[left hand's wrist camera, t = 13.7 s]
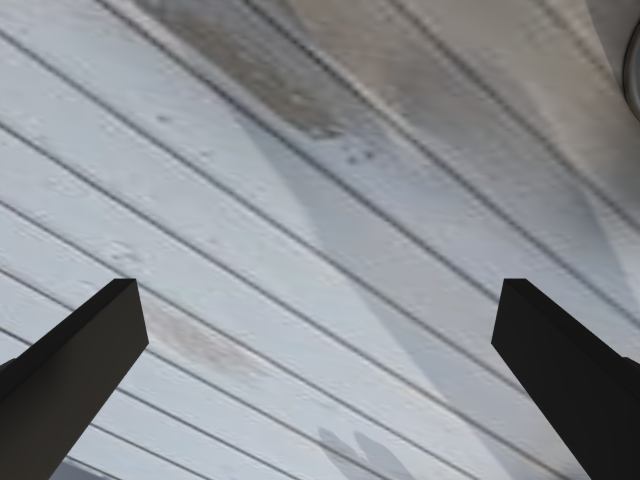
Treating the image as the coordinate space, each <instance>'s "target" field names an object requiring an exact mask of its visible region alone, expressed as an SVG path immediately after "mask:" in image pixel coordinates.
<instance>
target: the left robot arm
mask: <svg viewBox="0 0 640 480" xmlns="http://www.w3.org/2000/svg"><path fill="white" fill-rule="evenodd" d="M624 90H625V94H626V98H627V101H628V104H629V106H630V109H631V111H632V112H633V114H634V115H635V117H636V118H637V119H638V120H639V121H640V23H639V25H638V27H637V28H636V31H635V33H634V35H633V37H632V40H631V42H630V45H629V48H628V52H627V55H626V60H625V66H624ZM148 344H149V341H148V336H147V331H146V326H145V321H144V316H143V311H142V306H141V301H140V296H139V291H138V286H137V281H136V279H113V280H112V281H111V282H110V283H108V284H107V285H106V286H105V287H103V288H102V289H101V290H100V291H99V292H97V293H96V294H95V295H94V296H92V297H91V298H90V299H89V300H87V301H86V302H85V303H84V304H83V305H81V306H80V307H79V308H78V309H76V310H75V311H74V312H73V313H72V314H70V315H69V316H68V317H67V318H65V319H64V320H63V321H62V322H60V323H59V324H58V325H57V326H56V327H54V328H53V329H52V330H51V331H49V332H48V333H47V334H46V335H44V336H43V337H42V338H41V339H40V340H38V341H37V342H36V343H35V344H33V345H32V346H31V347H30V348H28V349H27V350H26V351H25V352H24V353H22V354H21V355H20V356H19V357H17V358H13V359H11V360H9V361H8V362H6V363H4V364H2V365H0V480H49V478H50V477H51V475H52V474H53V473H54V471H55V470H56V469H57V467H58V466H59V465H60V463H61V462H62V461H63V459H64V458H65V456H66V455H67V454H68V452H69V451H70V450H71V448H72V447H73V446H74V444H75V443H76V442H77V440H78V439H79V438H80V436H81V435H82V433H83V432H84V431H85V429H86V428H87V427H88V425H89V424H90V423H91V421H92V420H93V419H94V417H95V416H96V414H97V413H98V412H99V410H100V409H101V408H102V406H103V405H104V404H105V402H106V401H107V400H108V398H109V397H110V395H111V394H112V393H113V391H114V390H115V389H116V387H117V386H118V385H119V383H120V382H121V381H122V379H123V378H124V376H125V375H126V374H127V372H128V371H129V370H130V368H131V367H132V366H133V364H134V363H135V362H136V360H137V359H138V357H139V356H140V355H141V353H142V352H143V351H144V349H145V348H146V347H147V345H148ZM491 344H492V345H493V347H494V348H495V349H496V351H497V352H498V353H499V355H500V356H501V357H502V359H503V360H504V362H505V363H506V364H507V366H508V367H509V368H510V370H511V371H512V372H513V374H514V375H515V376H516V378H517V379H518V381H519V382H520V383H521V385H522V386H523V387H524V389H525V390H526V391H527V393H528V394H529V395H530V397H531V398H532V400H533V401H534V402H535V404H536V405H537V406H538V408H539V409H540V410H541V412H542V413H543V414H544V416H545V417H546V419H547V420H548V421H549V423H550V424H551V425H552V427H553V428H554V429H555V431H556V432H557V433H558V435H559V436H560V438H561V439H562V440H563V442H564V443H565V444H566V446H567V447H568V448H569V450H570V451H571V452H572V454H573V455H574V456H575V458H576V459H577V461H578V462H579V463H580V465H581V466H582V467H583V469H584V470H585V471H586V473H587V474H588V475H589V477H590V478H591V480H640V364H639V363H637V362H635V361H633V360H631V359H630V358H628V357H621V356H620V355H619V354H618V353H616V352H615V351H614V350H613V349H612V348H610V347H609V346H608V345H607V344H605V343H604V342H603V341H602V340H600V339H599V338H598V337H597V336H596V335H594V334H593V333H592V332H591V331H589V330H588V329H587V328H586V327H584V326H583V325H582V324H581V323H580V322H578V321H577V320H576V319H575V318H573V317H572V316H571V315H570V314H568V313H567V312H566V311H565V310H564V309H562V308H561V307H560V306H559V305H557V304H556V303H555V302H554V301H553V300H551V299H550V298H549V297H548V296H546V295H545V294H544V293H543V292H541V291H540V290H539V289H538V288H537V287H535V286H534V285H533V284H532V283H530V282H529V281H528V280H527V279H504V281H503V286H502V291H501V296H500V301H499V306H498V311H497V316H496V321H495V326H494V331H493V336H492V341H491Z"/></svg>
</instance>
